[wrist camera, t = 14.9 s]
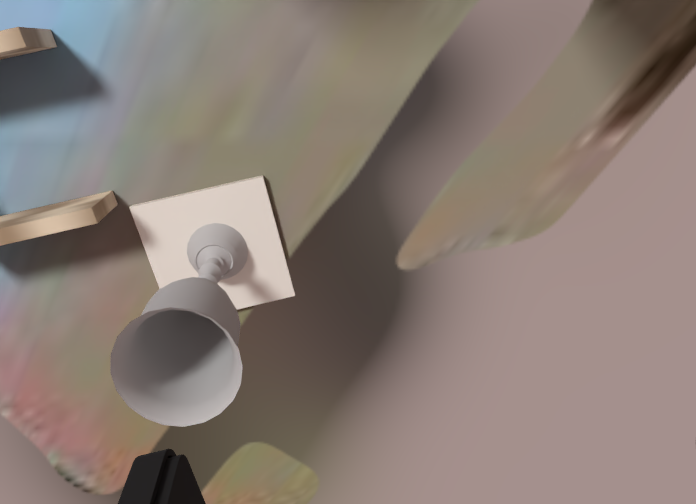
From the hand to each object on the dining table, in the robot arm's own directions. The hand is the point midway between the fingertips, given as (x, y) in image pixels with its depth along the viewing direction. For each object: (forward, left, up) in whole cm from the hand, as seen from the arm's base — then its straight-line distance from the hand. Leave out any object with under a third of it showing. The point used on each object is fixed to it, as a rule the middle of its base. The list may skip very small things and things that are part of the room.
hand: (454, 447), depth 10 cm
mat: (+11, +8, -36) cm, 39 cm away
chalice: (+11, +7, -36) cm, 38 cm away
